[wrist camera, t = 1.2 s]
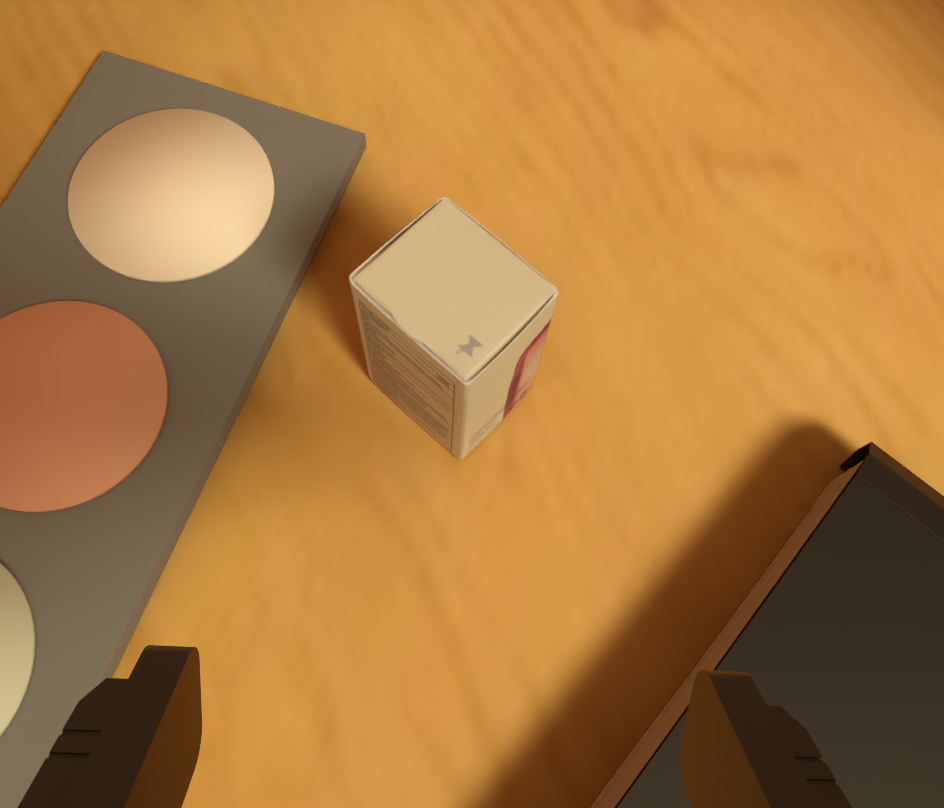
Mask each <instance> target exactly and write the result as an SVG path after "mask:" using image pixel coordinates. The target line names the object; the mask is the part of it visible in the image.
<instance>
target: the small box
mask: <svg viewBox="0 0 944 808" xmlns="http://www.w3.org/2000/svg"><path fill="white" fill-rule="evenodd" d="M349 283H350V287H351V292H352V297H353V302H354V307H355V311H356V316H357V321H358V326H359V330H360V335H361V340H362V345H363V350H364V355H365V359H366V365H367V369H368V374H369V378H370V380H371V381H372V382H373V383H374V384H375V385H376V386H377V387H378V388H379V389H380V390H381V391H382V392H383V393H384V394H386V395H387V396H388V397H389V398H390V399H391V400H392V401H393V402H394V403H395V404H396V405H397V406H399V407H400V408H401V409H402V410H403V411H404V412H405V413H406V414H407V415H408V416H409V417H411V418H412V419H413V420H414V421H415V422H416V423H417V424H418V425H420V426H421V427H422V428H423V429H424V430H425V431H426V432H427V433H429V434H430V435H431V436H432V437H433V438H434V439H435V440H436V441H438V442H439V443H440V444H441V445H442V446H443V447H444V448H446V449H447V450H448V451H449V452H450V453H451V454H452V455H453V456H454V457H456V458H457V459H459V460H462V459H463V458H464V457H465V456H466V455H467V454H468V453H469V452H471V451H472V450H473V449H474V448H475V447H476V446H477V445H478V444H479V443H480V442H481V441H482V440H483V439H484V438H485V437H486V436H487V435H488V434H489V433H490V432H491V431H492V430H493V429H494V428H495V427H496V426H497V425H498V424H499V423H500V422H501V421H502V420H503V419H504V417H505V416H506V415H507V414H508V413H509V412H510V411H511V410H512V409H513V408H514V407H515V406H516V405H517V404H518V403H519V401H520V400H521V399H522V398H523V397H524V396H525V395H526V394H527V393H528V391H529V390H530V389H531V388H532V385H533V381H534V378H535V374H536V371H537V367H538V364H539V360H540V357H541V354H542V350H543V346H544V343H545V339H546V336H547V332H548V328H549V325H550V321H551V317H552V315H553V311H554V308H555V304H556V301H557V297H558V289H557V288H556V287H555V286H554V285H553V284H552V283H551V282H550V281H548V280H547V279H546V278H545V277H544V276H543V275H542V274H540V273H539V272H538V271H537V270H536V269H535V268H534V267H532V266H531V265H530V264H529V263H528V262H527V261H525V260H524V259H523V258H522V257H521V256H519V255H518V254H517V253H516V252H515V251H514V250H512V249H511V248H510V247H509V246H507V245H506V244H505V243H504V242H502V241H501V240H500V239H499V238H498V237H497V236H495V235H494V234H493V233H492V232H490V231H489V230H488V229H487V228H485V227H484V226H483V225H481V224H480V223H479V222H478V221H477V220H475V219H474V218H473V217H471V216H470V215H469V214H468V213H466V212H465V211H464V210H463V209H461V208H460V207H459V206H457V205H456V204H455V203H453V202H452V201H451V200H450V199H449V198H447V197H441V198H440V199H438V200H437V201H436V202H435V203H434V204H433V205H431V206H430V207H429V208H428V209H426V210H425V211H424V212H423V213H421V214H420V215H419V216H418V217H417V218H416V219H414V220H413V221H412V222H411V223H409V224H408V225H407V226H406V227H404V228H403V229H402V230H401V231H400V232H399V233H397V234H396V235H395V236H394V237H393V238H391V239H390V240H389V241H387V242H386V243H385V244H384V245H383V246H382V247H381V248H380V249H378V250H377V251H376V252H375V253H373V254H372V255H371V256H370V257H369V258H368V259H367V260H366V261H365V262H363V263H362V264H361V265H360V266H359V267H358V268H356V269H355V270H354V271H353V272H352V273H351V274H350V275H349Z"/></svg>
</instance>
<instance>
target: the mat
mask: <svg viewBox="0 0 944 808" xmlns="http://www.w3.org/2000/svg"><path fill="white" fill-rule="evenodd" d="M365 148H366V140H365V134H363V133H360V132H357V131H354V130H351V129H347V128H344V127H341V126H338V125H335V124H332V123H329V122H325V121H322V120H319V119H316V118H313V117H310V116H307V115H304V114H300V113H297V112H294V111H291V110H288V109H285V108H282V107H278V106H275V105H272V104H269V103H266V102H263V101H260V100H257V99H253V98H250V97H247V96H244V95H241V94H238V93H235V92H232V91H228V90H225V89H222V88H219V87H216V86H213V85H210V84H206V83H203V82H200V81H197V80H194V79H191V78H188V77H185V76H181V75H178V74H175V73H172V72H169V71H166V70H163V69H159V68H156V67H153V66H150V65H147V64H144V63H141V62H138V61H134V60H131V59H128V58H125V57H122V56H119V55H116V54H113V53H109V52H106V51H103V52H102V53H101V55H100V56H99V58H98V59H97V61H96V62H95V64H94V66H93V67H92V69H91V70H90V72H89V73H88V75H87V76H86V78H85V79H84V81H83V82H82V84H81V85H80V87H79V88H78V90H77V91H76V93H75V95H74V96H73V98H72V99H71V101H70V102H69V104H68V105H67V107H66V108H65V110H64V111H63V113H62V114H61V116H60V117H59V119H58V121H57V122H56V124H55V125H54V127H53V128H52V130H51V131H50V133H49V134H48V136H47V137H46V139H45V140H44V142H43V143H42V145H41V147H40V148H39V150H38V151H37V153H36V154H35V156H34V157H33V159H32V160H31V162H30V163H29V165H28V166H27V168H26V169H25V171H24V173H23V174H22V176H21V177H20V179H19V180H18V182H17V183H16V185H15V186H14V188H13V189H12V191H11V192H10V194H9V195H8V197H7V198H6V200H5V202H4V203H3V205H2V206H1V208H0V808H18V806H19V804H20V802H21V801H22V799H23V797H24V795H25V794H26V792H27V790H28V788H29V787H30V785H31V783H32V781H33V780H34V778H35V776H36V774H37V773H38V771H39V769H40V768H41V766H42V764H43V762H44V761H45V759H46V758H48V757H49V752H50V750H51V748H52V747H53V745H54V743H55V741H56V740H57V738H58V736H59V735H62V731H63V728H64V726H65V724H66V722H67V721H68V719H69V717H70V715H71V714H72V712H73V710H74V708H75V707H76V705H77V703H78V701H80V700H81V699H82V698H83V697H84V696H86V695H87V694H88V693H89V692H90V691H92V690H93V689H94V688H95V687H96V686H97V685H99V684H100V683H101V682H102V681H103V680H105V679H106V678H112V676H113V674H114V672H115V670H116V668H117V666H118V664H119V662H120V660H121V657H122V655H123V653H124V651H125V649H126V647H127V645H128V643H129V641H130V639H131V637H132V635H133V632H134V630H135V628H136V626H137V624H138V622H139V620H140V618H141V616H142V614H143V612H144V609H145V607H146V605H147V603H148V601H149V599H150V597H151V595H152V593H153V591H154V589H155V586H156V584H157V582H158V580H159V578H160V576H161V574H162V572H163V570H164V568H165V566H166V563H167V561H168V559H169V557H170V555H171V553H172V551H173V549H174V547H175V545H176V543H177V540H178V538H179V536H180V534H181V532H182V530H183V528H184V526H185V524H186V522H187V520H188V518H189V515H190V513H191V511H192V509H193V507H194V505H195V503H196V501H197V499H198V497H199V495H200V492H201V490H202V488H203V486H204V484H205V482H206V480H207V478H208V476H209V474H210V472H211V469H212V467H213V465H214V463H215V461H216V459H217V457H218V455H219V453H220V451H221V449H222V446H223V444H224V442H225V440H226V438H227V436H228V434H229V432H230V430H231V428H232V426H233V424H234V421H235V419H236V417H237V415H238V413H239V411H240V409H241V407H242V405H243V403H244V401H245V398H246V396H247V394H248V392H249V390H250V388H251V386H252V384H253V382H254V380H255V378H256V375H257V373H258V371H259V369H260V367H261V365H262V363H263V361H264V359H265V357H266V355H267V352H268V350H269V348H270V346H271V344H272V342H273V340H274V338H275V336H276V334H277V332H278V329H279V327H280V325H281V323H282V321H283V319H284V317H285V315H286V313H287V311H288V309H289V307H290V304H291V302H292V300H293V298H294V296H295V294H296V292H297V290H298V288H299V286H300V284H301V281H302V279H303V277H304V275H305V273H306V271H307V269H308V267H309V265H310V263H311V261H312V258H313V256H314V254H315V252H316V250H317V248H318V246H319V244H320V242H321V240H322V238H323V235H324V233H325V231H326V229H327V227H328V225H329V223H330V221H331V219H332V217H333V215H334V213H335V210H336V208H337V206H338V204H339V202H340V200H341V198H342V196H343V194H344V192H345V190H346V187H347V185H348V183H349V181H350V179H351V177H352V175H353V173H354V171H355V169H356V167H357V164H358V162H359V160H360V158H361V156H362V154H363V152H364V150H365Z"/></svg>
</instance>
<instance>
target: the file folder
mask: <svg viewBox="0 0 944 808" xmlns="http://www.w3.org/2000/svg"><path fill="white" fill-rule="evenodd" d="M840 468H841V469H843V470H844V471H845V473H844V474H841V475H839V476H838V477H835V478H834V479H832V480H831V481H830V483H829V484H828V485H827V487H826V488H825V489H824V491H823V492H822V493H821V495H820V496H819V497H818V499H817V500H816V502H815V503H814V505H813V506H812V508H811V509H810V511H809V512H808V514H807V515H806V516H805V518H804V519H803V520H802V522H801V523H800V524H799V526H798V527H797V529H796V530H795V531H794V533H793V534H792V535H791V537H790V538H789V539H788V541H787V542H786V544H785V545H784V546H783V548H782V549H781V550H780V552H779V553H778V554H777V556H776V557H775V559H774V560H773V561H772V563H771V564H770V565H769V567H768V568H767V570H766V571H765V572H764V574H763V575H762V576H761V578H760V579H759V581H758V582H757V583H756V585H755V586H754V587H753V589H752V590H751V591H750V593H749V594H748V596H747V597H746V598H745V600H744V601H743V602H742V604H741V605H740V606H739V608H738V609H737V611H736V612H735V613H734V615H733V616H732V617H731V619H730V620H729V621H728V623H727V624H726V626H725V627H724V628H723V630H722V631H721V632H720V634H719V635H718V636H717V638H716V639H715V640H714V642H713V643H712V644H711V646H710V647H709V649H708V650H707V651H706V653H705V654H704V655H703V657H702V658H701V659H700V661H699V662H698V663H697V665H696V666H695V668H694V669H693V670H692V672H691V673H690V674H689V676H688V677H687V678H686V680H685V681H684V682H683V684H682V685H681V686H680V688H679V689H678V690H677V692H676V693H675V694H674V696H673V697H672V698H671V699H670V701H669V702H668V703H667V705H666V706H665V707H664V709H663V710H662V711H661V712H660V714H659V715H658V716H657V718H656V719H655V720H654V722H653V723H652V724H651V726H650V727H649V728H648V729H647V731H646V732H645V733H644V735H643V736H642V737H641V739H640V740H639V741H638V743H637V744H636V745H635V747H634V748H633V749H632V751H631V752H630V753H629V755H628V756H627V758H626V759H625V760H624V762H623V763H622V764H621V766H620V767H619V768H618V770H617V771H616V773H615V774H614V775H613V777H612V778H611V779H610V781H609V782H608V783H607V785H606V786H605V788H604V789H603V790H602V792H601V793H600V794H599V796H598V797H597V798H596V800H595V801H594V802H593V804H592V805H591V807H590V808H692V807H691V805H690V802H689V799H688V796H687V793H686V791H685V788H684V785H683V781H682V777H681V771H680V760H679V753H680V742H681V738H682V733H683V729H684V724H685V720H686V716H687V711H688V707H689V702H690V698H691V694H692V689H693V685H694V681H695V677H696V675H697V673H698V672H699V671H700V670H714V671H738V672H747V673H748V674H749V675H750V676H751V678H752V679H753V681H754V683H755V685H756V687H757V688H758V690H759V692H760V694H761V696H762V698H763V700H764V701H765V703H766V705H769V706H782V707H783V708H784V709H785V710H786V711H787V712H788V713H789V714H790V715H791V716H792V717H793V718H795V719H796V720H797V721H798V722H799V723H800V724H801V725H802V726H803V727H804V728H805V729H806V730H807V731H808V733H809V734H810V736H811V738H812V739H813V741H814V743H815V745H816V746H817V748H818V750H819V752H820V753H821V755H822V757H823V763H826V764H827V765H828V767H829V769H830V770H831V772H832V774H833V776H834V777H835V779H836V785H839V786H840V788H841V789H842V791H843V793H844V795H845V796H846V798H847V800H848V802H849V803H850V805H851V807H852V808H944V496H942V495H941V494H940V493H938V492H937V491H936V490H935V489H933V488H932V487H931V486H929V485H928V484H927V483H925V482H924V481H923V480H921V479H920V478H919V477H917V476H916V475H915V474H913V473H912V472H911V471H909V470H908V469H907V468H905V467H904V466H903V465H901V464H900V463H899V462H898V461H896V460H895V459H894V458H892V457H891V456H890V455H888V454H887V453H886V452H884V451H883V450H882V449H880V448H879V447H878V446H876V445H875V444H874V443H872V442H870V443H868V444H867V445H865V446H863V447H861V448H859V449H858V450H857V451H855V452H854V453H853V454H852V455H851V456H850V457H849V458H848V459H847V460H846V461H845V462H844V463H843V464H842V465H841V466H840Z"/></svg>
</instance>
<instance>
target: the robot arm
mask: <svg viewBox="0 0 944 808" xmlns="http://www.w3.org/2000/svg"><path fill="white" fill-rule="evenodd" d="M201 735H202V711H201V686H200V662H199V652H198V649H197V648H196V647H178V646H154V645H148V646H146V647H145V649H144V650H143V652H142V654H141V655H140V657H139V659H138V661H137V663H136V665H135V667H134V669H133V671H132V673H131V675H130V677H129V679H118V678H106V679H105V680H103V681H102V682H101V683H100V684H99V685H97V686H96V687H95V688H94V689H93V690H92V691H90V692H89V693H88V694H87V695H86V696H84V697H83V698H82V699H81V700H80V701H78V703H77V705H76V707H75V708H74V710H73V712H72V714H71V715H70V717H69V719H68V721H67V722H66V724H65V726H64V728H63V731H62V735H59V736H58V738H57V740H56V741H55V743H54V745H53V747H52V748H51V750H50V752H49V757H48V758H46V759H45V761H44V762H43V764H42V766H41V768H40V769H39V771H38V773H37V774H36V776H35V778H34V780H33V781H32V783H31V785H30V787H29V788H28V790H27V792H26V794H25V795H24V797H23V799H22V801H21V802H20V804H19V806H18V808H181V807H182V804H183V801H184V799H185V796H186V793H187V790H188V787H189V784H190V781H191V778H192V776H193V773H194V770H195V767H196V763H197V759H198V755H199V750H200V743H201ZM679 760H680V771H681V777H682V781H683V785H684V788H685V791H686V793H687V796H688V799H689V802H690V805H691V807H692V808H852V807H851V805H850V803H849V802H848V800H847V798H846V796H845V795H844V793H843V791H842V789H841V788H840V786H839V785H836V779H835V777H834V776H833V774H832V772H831V770H830V769H829V767H828V765H827V764H826V763H823V757H822V755H821V753H820V752H819V750H818V748H817V746H816V745H815V743H814V741H813V739H812V738H811V736H810V734H809V733H808V731H807V730H806V729H805V728H804V727H803V726H802V725H801V724H800V723H799V722H798V721H797V720H796V719H795V718H793V717H792V716H791V715H790V714H789V713H788V712H787V711H786V710H785V709H784V708H783V707H782V706H769V705H766V703H765V701H764V700H763V698H762V696H761V694H760V692H759V690H758V688H757V687H756V685H755V683H754V681H753V679H752V678H751V676H750V675H749V674H748V673H747V672H738V671H714V670H700V671H699V672H698V673H697V675H696V677H695V681H694V685H693V689H692V694H691V698H690V702H689V707H688V711H687V716H686V720H685V724H684V729H683V733H682V738H681V742H680V753H679Z"/></svg>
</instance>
